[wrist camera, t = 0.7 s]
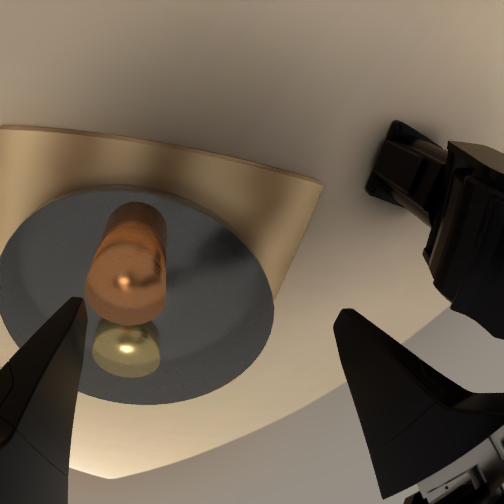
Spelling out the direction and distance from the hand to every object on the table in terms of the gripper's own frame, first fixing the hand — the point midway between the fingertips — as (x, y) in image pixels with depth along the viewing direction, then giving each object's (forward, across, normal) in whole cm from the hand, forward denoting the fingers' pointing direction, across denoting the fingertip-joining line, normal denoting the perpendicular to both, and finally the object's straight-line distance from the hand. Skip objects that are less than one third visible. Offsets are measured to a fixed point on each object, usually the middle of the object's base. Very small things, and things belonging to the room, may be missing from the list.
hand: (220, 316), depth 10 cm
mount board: (+12, +4, +9) cm, 15 cm away
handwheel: (+8, +4, +9) cm, 13 cm away
